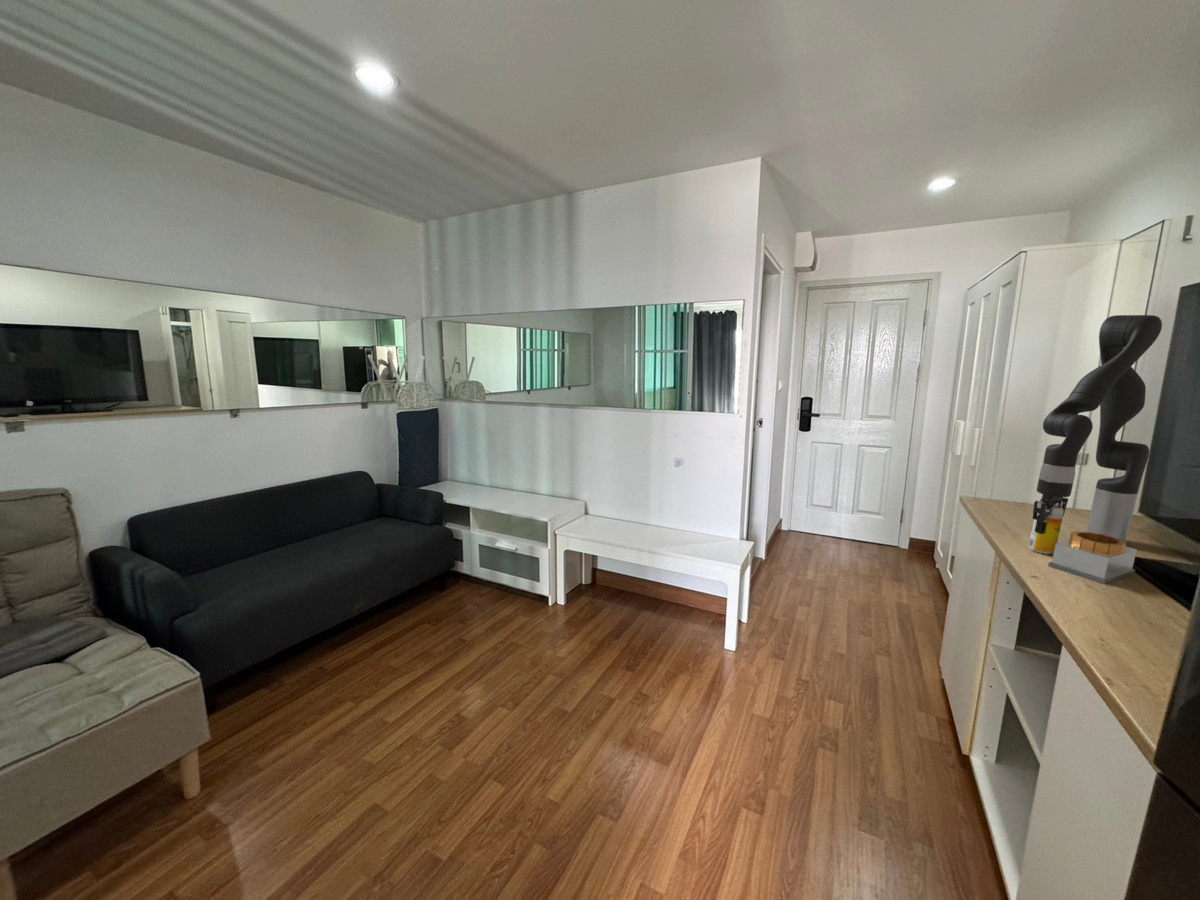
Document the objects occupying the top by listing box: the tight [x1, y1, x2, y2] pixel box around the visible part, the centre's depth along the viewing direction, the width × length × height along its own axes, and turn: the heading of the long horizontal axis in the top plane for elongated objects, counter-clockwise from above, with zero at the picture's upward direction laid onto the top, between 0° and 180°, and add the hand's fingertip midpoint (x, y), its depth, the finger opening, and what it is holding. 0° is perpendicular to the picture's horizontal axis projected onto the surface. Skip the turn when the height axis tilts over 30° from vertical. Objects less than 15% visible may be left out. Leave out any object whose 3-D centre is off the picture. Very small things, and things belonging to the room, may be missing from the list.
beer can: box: [1028, 506, 1065, 555], centre depth 143 cm, size 6×6×15 cm
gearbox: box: [1047, 530, 1138, 585], centre depth 132 cm, size 21×12×10 cm, turn 113°
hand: (1045, 531), depth 143 cm, fingers closed on beer can, 6 cm apart
